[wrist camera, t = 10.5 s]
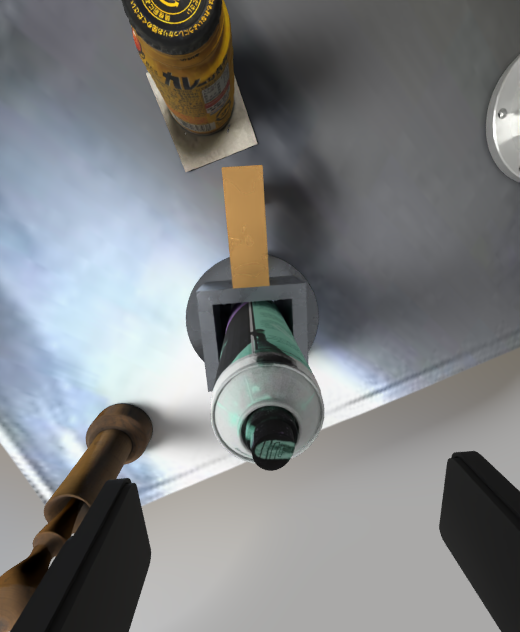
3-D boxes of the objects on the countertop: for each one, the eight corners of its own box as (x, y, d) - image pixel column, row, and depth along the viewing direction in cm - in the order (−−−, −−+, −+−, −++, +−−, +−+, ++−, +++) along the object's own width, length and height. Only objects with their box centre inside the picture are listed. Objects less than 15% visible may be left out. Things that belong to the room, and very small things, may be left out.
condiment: (223, 42, 25) (205, -130, 14) (257, 144, 27) (267, 70, 16) (146, 74, 25) (64, -68, 14) (186, 173, 28) (144, 121, 16)
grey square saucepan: (313, 180, 28) (335, 160, 21) (317, 372, 33) (336, 405, 26) (170, 189, 28) (146, 171, 21) (196, 382, 33) (183, 419, 26)
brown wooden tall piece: (131, 461, 35) (18, 678, 17) (84, 432, 34) (-89, 636, 16) (164, 423, 34) (79, 614, 16) (117, 392, 33) (-30, 563, 15)
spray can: (221, 303, 30) (178, 413, 10) (272, 287, 30) (325, 369, 10) (238, 350, 31) (227, 527, 12) (286, 335, 31) (357, 489, 12)
